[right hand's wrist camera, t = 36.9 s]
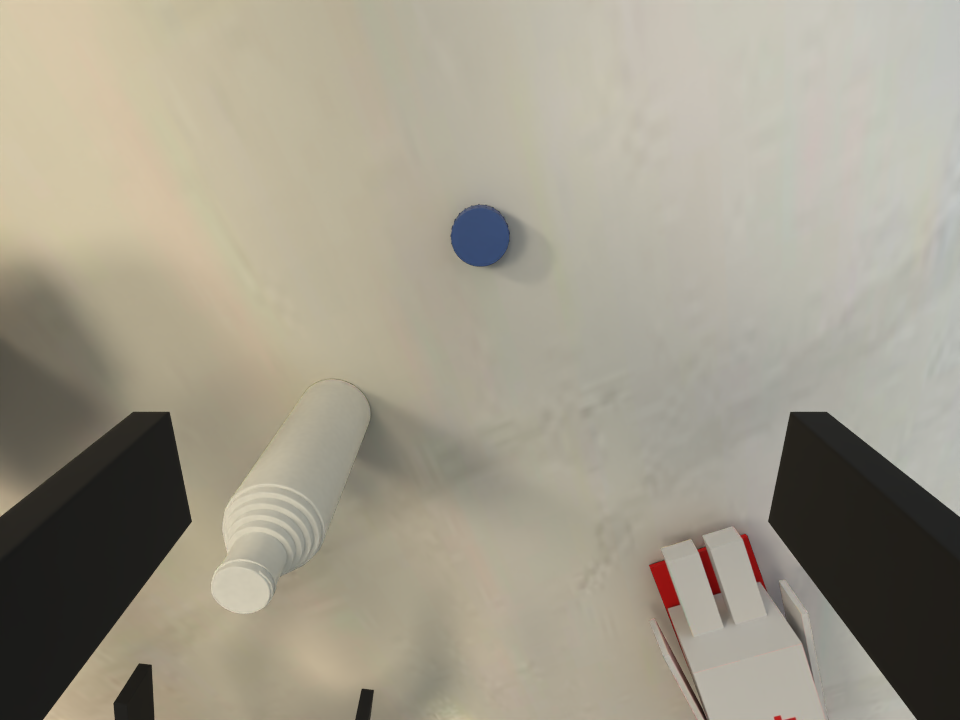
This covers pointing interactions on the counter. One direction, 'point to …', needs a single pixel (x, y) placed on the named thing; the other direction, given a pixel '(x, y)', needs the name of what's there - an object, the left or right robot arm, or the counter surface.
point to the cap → (480, 235)
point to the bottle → (290, 495)
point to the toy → (736, 634)
